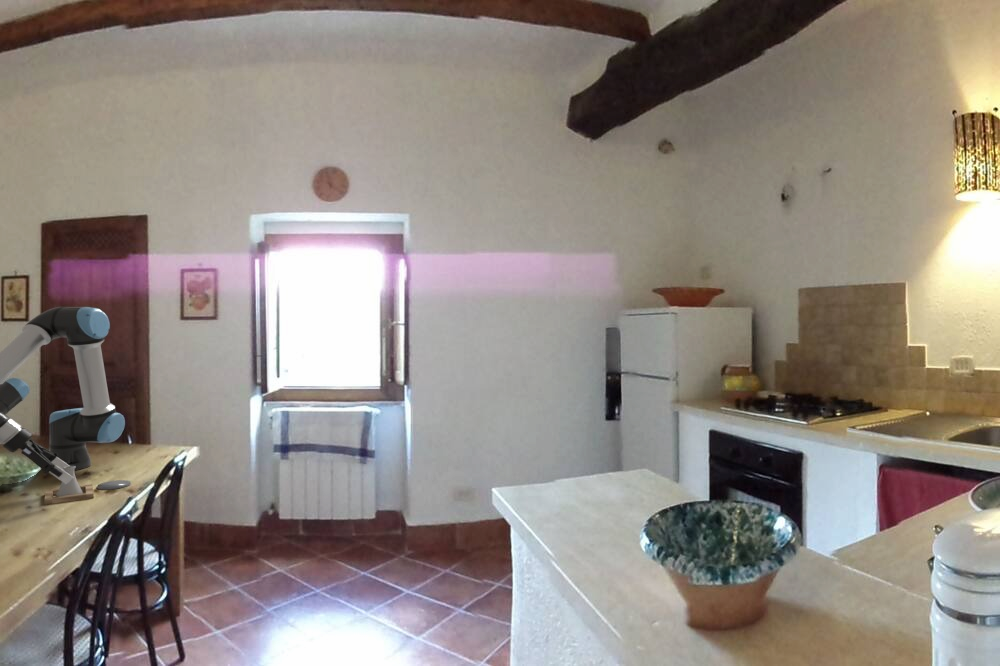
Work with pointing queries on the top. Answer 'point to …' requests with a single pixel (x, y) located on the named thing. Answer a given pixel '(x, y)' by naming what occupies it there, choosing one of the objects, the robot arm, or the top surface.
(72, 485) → the flask
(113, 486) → the coaster
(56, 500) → the holder
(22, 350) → the robot arm
